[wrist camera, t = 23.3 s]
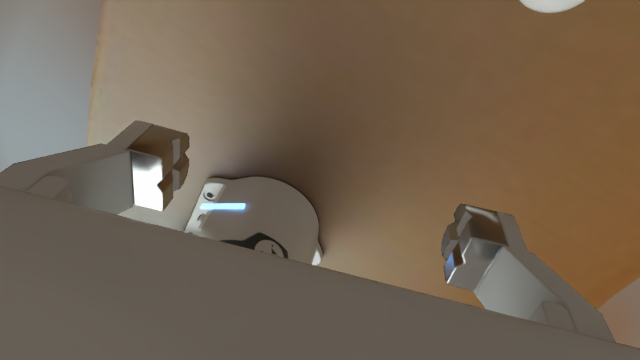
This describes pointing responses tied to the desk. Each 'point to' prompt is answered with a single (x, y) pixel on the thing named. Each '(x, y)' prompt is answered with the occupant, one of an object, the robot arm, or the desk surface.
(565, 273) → the desk surface
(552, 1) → the lightbulb
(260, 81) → the desk surface
